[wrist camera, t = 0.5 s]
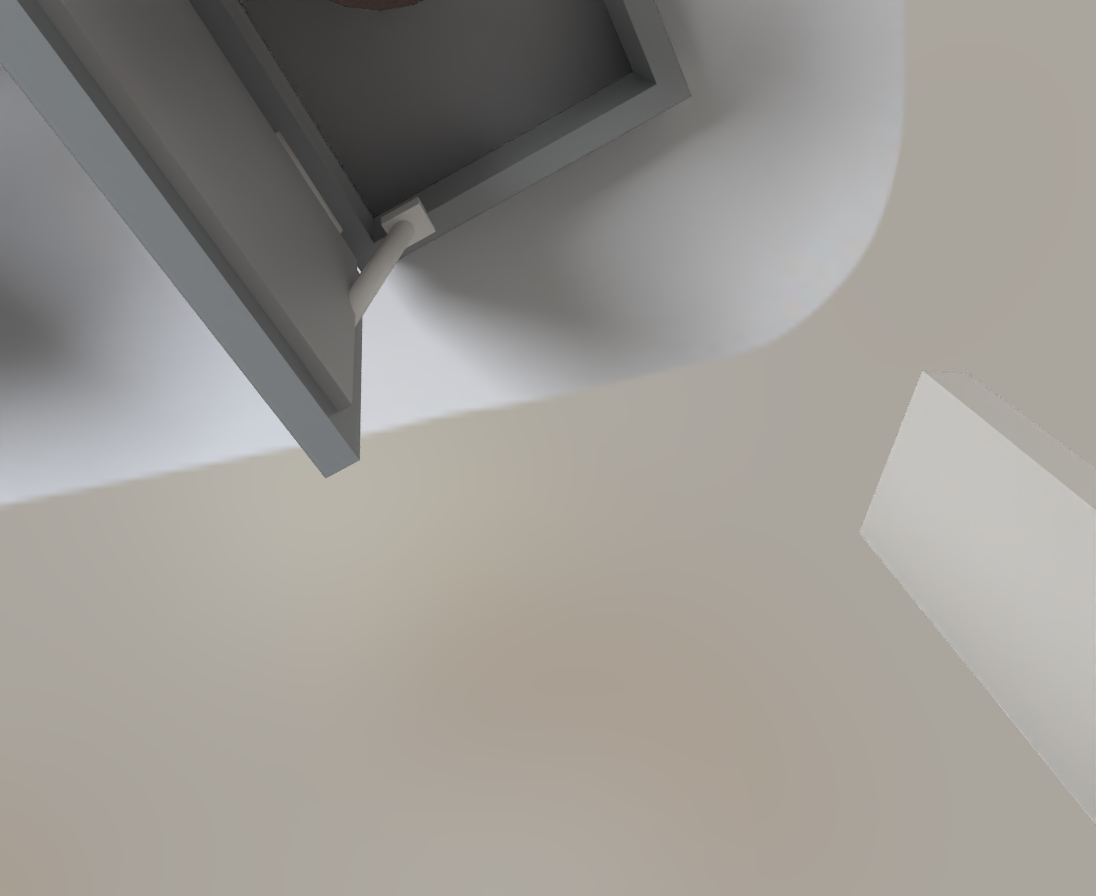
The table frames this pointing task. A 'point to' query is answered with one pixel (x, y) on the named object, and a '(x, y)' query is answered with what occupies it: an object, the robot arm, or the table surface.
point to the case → (275, 180)
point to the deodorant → (376, 3)
